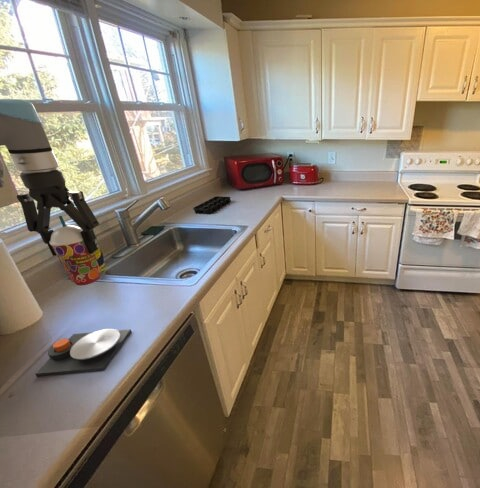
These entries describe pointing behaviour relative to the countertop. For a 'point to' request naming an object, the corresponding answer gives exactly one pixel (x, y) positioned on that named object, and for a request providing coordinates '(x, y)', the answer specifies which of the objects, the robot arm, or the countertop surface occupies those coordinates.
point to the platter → (94, 344)
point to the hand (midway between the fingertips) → (75, 252)
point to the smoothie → (74, 254)
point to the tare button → (61, 345)
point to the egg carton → (211, 205)
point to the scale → (68, 365)
